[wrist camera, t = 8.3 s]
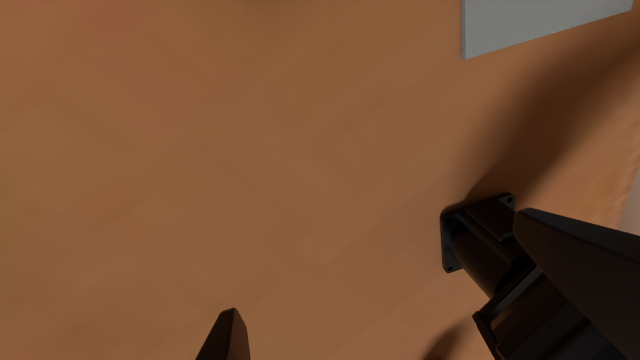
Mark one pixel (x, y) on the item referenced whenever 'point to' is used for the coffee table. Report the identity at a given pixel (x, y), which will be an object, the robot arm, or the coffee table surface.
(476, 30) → the mat
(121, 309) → the coffee table surface
